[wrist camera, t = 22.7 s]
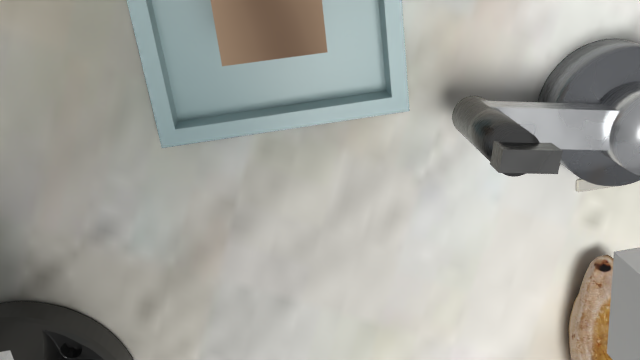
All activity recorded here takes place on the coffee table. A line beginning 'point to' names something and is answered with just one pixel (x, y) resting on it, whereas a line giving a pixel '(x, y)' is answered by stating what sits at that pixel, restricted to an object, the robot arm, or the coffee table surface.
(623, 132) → the crank
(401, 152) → the coffee table surface
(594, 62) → the crank base
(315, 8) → the stop block
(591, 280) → the sweet potato
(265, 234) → the coffee table surface
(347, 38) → the tray
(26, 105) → the coffee table surface
